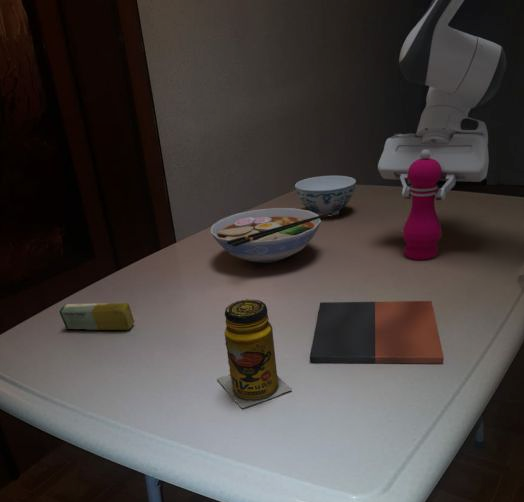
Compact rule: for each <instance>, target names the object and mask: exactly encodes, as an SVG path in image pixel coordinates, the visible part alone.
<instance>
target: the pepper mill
mask: <svg viewBox="0 0 524 502" xmlns="http://www.w3.org/2000/svg"><path fill="white" fill-rule="evenodd" d="M420 156H421V159H418V160H416V161H415V162H413V163H412V164H411V166H410V167H409V170H408V179H409V181H410V184H411V185H410V186H409V187H410V189H411V191H410V194H411V200H412V201H411V207H410V208H411V210H410V213H409V215H408V217H407V219H406V221H405V223H404V226H403V230H402V237H403V240H404V241H405V242H406V243H407V244H405V246H404V256H405V257H406V258H408V259H410V260H416V261H424V260H425V261H426V260H431V259H434V258H435V257H437V255H438V249H439V246H438V244H437V242H438V241H439V240H440V239H441V237H442V226H441V222H440V219H439V217H438V215H437V211H436V207H435V200H436V198H435V194H436V190H437V188H439V185H438V184H437V183H438V182H440V181H439V179H440V178H441V166H440V164H439V163H438V162H437V161H436V160H434V159H431V158H429V157H430V151H429V150H423V151H422V152H421V154H420Z"/></svg>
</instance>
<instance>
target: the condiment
mask: <svg viewBox="0 0 524 502" xmlns="http://www.w3.org/2000/svg"><path fill="white" fill-rule="evenodd" d="M224 318H225V325H226V327H225V329H224V340H225V343H224V345H225V347H226V354H227V360H228V361H227V363H228V367H229V374H227V375H224V376H221V377H218V378H216V380H217V381H218V382H219V384H220V385H222V387H223V388H224V389H225V390H226V391H227V393H228V394H229V396H230V397H231V398H232V399H233V400H234V401H235V402H236V403H237V405H238V406H239V407H240V408H241V409H244V408H247V407H250V406H254V405H257V404H259V403H263V402H265V401H267V400H271V399H273V398H275V397H278V396H281V395H282V394H285V393H288V392H290V391H293V389H292V387H290V385H288V384H287V383H286V382H285V381H284V380H283V379H282V378H281V377H279V375H278V371H277V361H276V351H275V343H274V332H273V325H272V323H271V321H270V320H269V319H270V318H269V314H268V306H267V304H266V303H265V302H263V301H262V300H259V299H242V300H238V301H235V302H233V303H230V304H229V305H227V307H226V308H225V310H224Z"/></svg>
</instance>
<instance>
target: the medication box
mask: <svg viewBox="0 0 524 502" xmlns="http://www.w3.org/2000/svg"><path fill="white" fill-rule="evenodd" d="M59 315H60V317H61V319H62V322H63V324H64V327H65V330H67V329H86V330H94V331H95V330H98V331H99V330H103V331H104V330H112V331H113V330H116V331H117V330H123V331H125V330H131V328H132V327H133V326H134V324H135V319H134V317H133V313H132V310H131V307H130V304H129V302H115V303H114V302H113V303H112V302H110V303H109V302H108V303H107V302H106V303H105V302H103V303H65V304H64V305H63V306H62V307H61V308H60V310H59ZM86 330H85V331H86Z"/></svg>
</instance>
